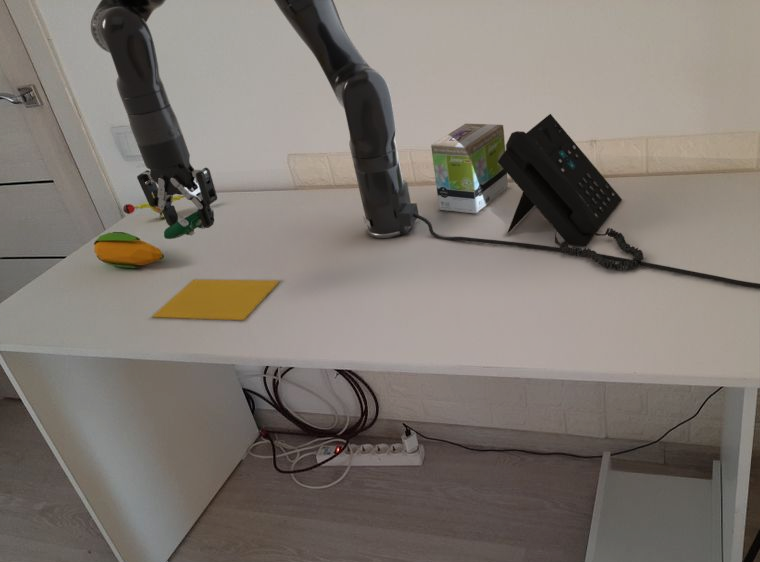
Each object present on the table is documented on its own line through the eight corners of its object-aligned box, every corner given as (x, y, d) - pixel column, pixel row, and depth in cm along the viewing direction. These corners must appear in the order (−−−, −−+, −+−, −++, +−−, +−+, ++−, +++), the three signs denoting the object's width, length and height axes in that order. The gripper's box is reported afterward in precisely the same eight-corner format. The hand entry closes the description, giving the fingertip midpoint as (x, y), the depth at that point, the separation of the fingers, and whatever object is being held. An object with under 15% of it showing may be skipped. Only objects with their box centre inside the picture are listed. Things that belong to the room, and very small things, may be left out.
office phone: (635, 275, 116) (636, 158, 104) (484, 257, 129) (471, 153, 118) (678, 205, 135) (683, 100, 124) (544, 196, 149) (537, 101, 138)
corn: (103, 223, 155) (166, 228, 146) (118, 252, 160) (181, 259, 151) (78, 240, 150) (142, 246, 141) (94, 269, 155) (157, 277, 146)
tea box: (478, 214, 146) (470, 146, 138) (438, 211, 151) (428, 144, 143) (510, 187, 156) (503, 122, 148) (471, 184, 161) (463, 121, 153)
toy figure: (128, 230, 172) (117, 204, 168) (131, 222, 176) (120, 197, 172) (200, 213, 174) (191, 187, 170) (201, 205, 178) (192, 180, 175)
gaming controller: (175, 250, 124) (182, 232, 119) (160, 235, 124) (167, 216, 119) (213, 229, 130) (221, 210, 125) (199, 214, 130) (207, 195, 125)
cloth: (279, 282, 134) (279, 280, 134) (243, 320, 123) (243, 319, 123) (194, 281, 141) (193, 279, 141) (152, 317, 130) (152, 316, 130)
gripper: (206, 126, 116) (236, 217, 126) (138, 131, 121) (172, 218, 130) (180, 141, 111) (214, 235, 120) (110, 145, 115) (147, 235, 125)
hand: (192, 226), depth 125 cm, fingers closed on gaming controller, 7 cm apart
